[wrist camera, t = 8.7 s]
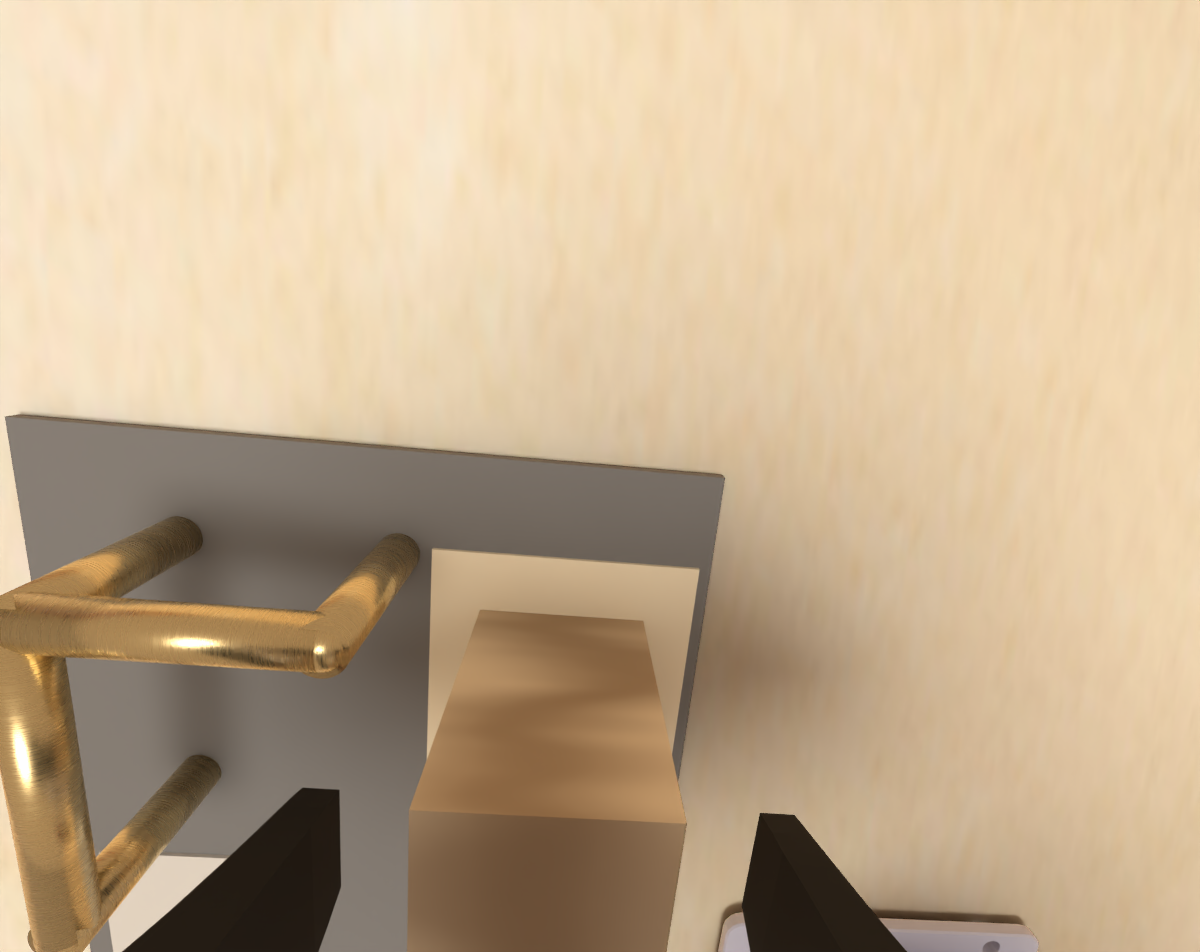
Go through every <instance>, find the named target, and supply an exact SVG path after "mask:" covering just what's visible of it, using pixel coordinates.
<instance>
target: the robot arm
mask: <svg viewBox="0 0 1200 952" xmlns="http://www.w3.org/2000/svg"><path fill="white" fill-rule="evenodd" d="M340 889H341V849H340V790H337V789H319V788H301V789H300V790H299V791H298V792H296V793H295V794H294V795H293V796H292V797H291V798H290V799H289V800H288V801H287V802H286V803H285V804H284V805H283V806H282V807H281V808H280V809H278V810H277V811H276V812H275V813H274V814H273V815H272V816H271V817H270V818H269V819H268V820H267V821H266V822H265V823H264V824H263V825H262V826H261V827H260V828H259V829H258V830H257V831H256V832H255V833H253V834H252V835H251V836H250V837H249V838H248V839H247V840H246V841H245V842H244V843H243V844H242V845H241V846H240V847H239V848H238V849H237V850H236V851H234V852H233V853H232V854H231V855H230V856H229V857H228V858H227V859H226V860H225V861H224V862H223V863H222V864H221V865H219V866H218V867H217V868H216V869H215V870H214V871H213V872H212V873H211V874H210V875H208V876H207V877H206V878H205V879H204V880H203V881H202V882H201V883H200V884H199V885H198V886H196V887H195V888H194V889H193V890H192V891H191V892H190V893H189V894H188V895H187V896H185V897H184V898H183V899H182V900H181V901H180V902H179V903H178V904H177V905H176V906H174V907H173V908H172V909H171V910H170V911H169V912H168V913H167V914H165V915H164V916H163V917H162V918H161V919H160V920H158V921H157V922H156V923H155V924H154V925H153V926H151V927H150V928H149V929H148V930H147V931H146V932H144V933H143V934H142V935H141V936H140V937H139V938H137V939H136V940H135V941H134V942H133V943H131V944H130V945H129V946H128V947H127V948H126V949H124V950H123V951H122V952H319V949H320V946H321V944H322V941H323V938H324V935H325V932H326V930H327V927H328V924H329V921H330V918H331V915H332V912H333V909H334V906H335V903H336V900H337V898H338V895H339V892H340ZM742 909H743V912H739V913H734V914H732V915H730V916H729V917H728V918H727V919H726V920H725V922H724V924H723V928H722V933H721V939H720V944H719V949H718V952H1037V951H1038V945H1039V943H1038V940H1037V938H1036V937H1035V936H1034V934H1033V933H1032V932H1031V930H1030V929H1029V928H1028V927H1026V926H1025V925H1020V924H1008V923H984V922H961V921H937V920H913V919H890V918H878V917H877V916H876V915H875V914H874V912H873V911H872V910H871V909H870V908H869V906H868V905H867V904H866V903H865V902H864V900H863V899H862V898H861V897H860V896H859V894H858V893H857V892H856V891H855V889H854V888H853V887H852V886H851V884H850V883H849V882H848V881H847V880H846V878H845V877H844V876H843V875H842V873H841V872H840V871H839V870H838V868H837V867H836V866H835V865H834V863H833V862H832V861H831V860H830V859H829V857H828V856H827V855H826V854H825V852H824V851H823V850H822V849H821V847H820V846H819V845H818V844H817V842H816V841H815V840H814V839H813V837H812V836H811V835H810V834H809V832H808V831H807V830H806V829H805V827H804V826H803V825H802V824H801V823H800V821H799V820H798V819H797V818H796V816H795V815H786V814H768V813H760V816H759V821H758V826H757V831H756V836H755V841H754V846H753V851H752V857H751V862H750V867H749V872H748V877H747V882H746V887H745V892H744V897H743V902H742Z"/></svg>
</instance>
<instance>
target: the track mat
mask: <svg viewBox="0 0 1200 952" xmlns="http://www.w3.org/2000/svg"><path fill="white" fill-rule="evenodd" d="M5 420H6V426H7V433H8V439H9V445H10V451H11V458H12V464H13V470H14V476H15V482H16V489H17V495H18V501H19V507H20V513H21V520H22V526H23V532H24V538H25V545H26V551H27V557H28V563H29V569H30V576H31V581H33V580H35V579H37V578H40V577H42V576H44V575H46V574H48V573H50V572H53V571H55V570H57V569H59V568H61V567H63V566H65V565H68V564H70V563H72V562H74V561H76V560H78V559H81V558H83V557H85V556H87V555H89V554H91V553H94V552H96V551H98V550H100V549H102V548H104V547H107V546H109V545H111V544H113V543H115V542H117V541H120V540H122V539H124V538H126V537H128V536H130V535H132V534H135V533H137V532H139V531H141V530H143V529H145V528H148V527H150V526H152V525H154V524H156V523H158V522H161V521H163V520H165V519H167V518H170V517H174V516H180V517H185V518H187V519H189V520H191V521H193V522H194V523H195V524H196V525H197V526H198V527H199V529H200V531H201V533H202V537H203V543H202V546H201V548H200V550H199V551H198V552H197V553H196V554H194V555H192V556H190V557H189V558H187V559H185V560H184V561H182V562H180V563H179V564H177V565H175V566H173V567H172V568H170V569H168V570H167V571H165V572H163V573H162V574H160V575H158V576H156V577H155V578H153V579H151V580H150V581H148V582H146V583H145V584H143V585H141V586H139V587H138V588H136V589H134V590H133V591H131V592H129V593H127V594H126V595H124V596H122V597H121V598H133V599H147V600H161V601H176V602H190V603H205V604H219V605H234V606H248V607H263V608H277V609H291V610H306V611H316V610H317V609H318V608H319V606H320V605H321V604H322V603H323V602H324V601H325V600H326V599H327V598H328V597H329V596H330V595H331V594H332V593H333V591H334V590H335V589H336V588H337V587H338V586H339V585H340V584H341V583H342V582H343V581H344V580H345V579H346V578H347V576H348V575H349V574H350V573H351V572H352V571H353V570H354V569H355V568H356V567H357V566H358V565H359V564H360V563H361V561H362V560H363V559H364V558H365V557H366V556H367V555H368V554H369V553H370V552H371V551H372V550H373V549H374V548H375V547H376V545H377V544H378V543H379V542H380V541H381V540H382V539H383V538H384V537H386V536H387V535H390V534H394V533H400V534H405V535H407V536H409V537H411V538H412V539H413V540H414V541H415V542H416V543H417V545H418V547H419V550H420V559H419V562H418V563H417V565H416V566H415V568H414V569H413V571H412V572H411V574H410V575H409V577H408V578H407V580H406V581H405V582H404V584H403V585H402V587H401V588H400V590H399V591H398V593H397V594H396V595H395V597H394V598H393V600H392V601H391V603H390V604H389V606H388V607H387V609H386V610H385V611H384V613H383V614H382V616H381V617H380V619H379V620H378V622H377V623H376V625H375V626H374V627H373V629H372V630H371V632H370V633H369V635H368V636H367V638H366V639H365V640H364V642H363V643H362V645H361V646H360V648H359V649H358V651H357V652H356V654H355V655H354V656H353V658H352V659H351V661H350V662H349V664H348V665H347V667H346V668H345V669H344V670H343V671H342V672H341V673H340V674H338V675H336V676H334V677H331V678H326V679H318V678H313V677H310V676H307V675H305V674H303V673H302V672H289V671H274V670H258V669H242V668H226V667H210V666H195V665H179V664H163V663H147V662H131V661H116V660H100V659H84V658H68V657H66V664H67V670H68V677H69V684H70V690H71V697H72V704H73V710H74V717H75V723H76V730H77V737H78V743H79V750H80V757H81V763H82V770H83V777H84V783H85V790H86V797H87V803H88V810H89V817H90V823H91V830H92V837H93V843H94V850H95V856H96V857H97V856H98V855H99V854H100V853H101V852H102V851H103V849H104V848H105V847H106V846H107V845H108V844H109V843H110V842H111V841H112V840H113V838H114V837H115V836H116V835H117V834H118V833H119V832H120V831H121V830H122V829H123V828H124V826H125V825H126V824H127V823H128V822H129V821H130V820H131V819H132V818H133V817H134V815H135V814H136V813H137V812H138V811H139V810H140V809H141V808H142V807H143V806H144V805H145V803H146V802H147V801H148V800H149V799H150V798H151V797H152V796H153V795H154V794H155V792H156V791H157V790H158V789H159V788H160V787H161V786H162V785H163V784H164V783H165V782H166V780H167V779H168V778H169V777H170V776H171V775H172V774H173V773H174V772H175V771H176V769H177V768H178V767H179V766H180V765H181V764H182V763H183V762H184V761H185V760H186V759H187V758H188V757H190V756H193V755H205V756H208V757H210V758H212V759H213V760H215V761H216V762H217V763H218V765H219V766H220V768H221V778H220V780H219V781H218V782H217V784H216V785H215V786H214V787H213V789H212V790H211V791H210V792H209V794H208V795H207V796H206V797H205V799H204V800H203V801H202V802H201V804H200V805H199V806H198V807H197V809H196V810H195V811H194V813H193V814H192V815H191V816H190V818H189V819H188V820H187V821H186V823H185V824H184V825H183V826H182V828H181V829H180V830H179V831H178V833H177V834H176V835H175V836H174V838H173V839H172V840H171V841H170V843H169V844H168V845H167V846H166V848H165V849H164V850H163V851H162V853H161V854H160V855H159V856H158V858H157V859H156V860H155V861H154V863H153V864H152V865H151V866H150V868H149V869H148V870H147V871H146V873H145V874H144V875H143V876H142V878H141V879H140V880H139V882H138V883H137V884H136V885H135V887H134V888H133V889H132V890H131V892H130V893H129V894H128V895H127V897H126V898H125V899H124V900H123V902H122V903H121V904H120V905H119V907H118V908H117V909H116V910H115V912H114V913H113V914H112V915H111V917H110V918H109V919H108V920H107V922H106V923H105V924H104V925H103V927H102V928H101V929H100V930H99V932H98V933H97V934H96V935H95V937H94V938H93V939H92V940H91V942H90V948H91V952H122V951H123V950H124V949H126V948H127V947H128V946H129V945H130V944H131V943H133V942H134V941H135V940H136V939H137V938H139V937H140V936H141V935H142V934H143V933H144V932H146V931H147V930H148V929H149V928H150V927H151V926H153V925H154V924H155V923H156V922H157V921H158V920H160V919H161V918H162V917H163V916H164V915H165V914H167V913H168V912H169V911H170V910H171V909H172V908H173V907H174V906H176V905H177V904H178V903H179V902H180V901H181V900H182V899H183V898H184V897H185V896H187V895H188V894H189V893H190V892H191V891H192V890H193V889H194V888H195V887H196V886H198V885H199V884H200V883H201V882H202V881H203V880H204V879H205V878H206V877H207V876H208V875H210V874H211V873H212V872H213V871H214V870H215V869H216V868H217V867H218V866H219V865H221V864H222V863H223V862H224V861H225V860H226V859H227V858H228V857H229V856H230V855H231V854H232V853H233V852H234V851H236V850H237V849H238V848H239V847H240V846H241V845H242V844H243V843H244V842H245V841H246V840H247V839H248V838H249V837H250V836H251V835H252V834H253V833H255V832H256V831H257V830H258V829H259V828H260V827H261V826H262V825H263V824H264V823H265V822H266V821H267V820H268V819H269V818H270V817H271V816H272V815H273V814H274V813H275V812H276V811H277V810H278V809H280V808H281V807H282V806H283V805H284V804H285V803H286V802H287V801H288V800H289V799H290V798H291V797H292V796H293V795H294V794H295V793H296V792H298V791H299V790H300V789H301V788H319V789H337V790H340V849H341V889H340V892H339V895H338V898H337V900H336V903H335V906H334V909H333V912H332V915H331V918H330V921H329V924H328V927H327V930H326V932H325V935H324V938H323V941H322V944H321V946H320V949H319V952H407V921H408V844H409V809H410V806H411V803H412V800H413V797H414V795H415V792H416V789H417V786H418V783H419V780H420V778H421V775H422V772H423V769H424V766H425V763H426V761H427V758H428V755H429V752H430V749H431V747H432V744H433V741H434V738H435V735H436V732H437V730H438V727H439V724H440V721H441V718H442V716H443V713H444V710H445V707H446V704H447V701H448V699H449V696H450V693H451V690H452V687H453V685H454V682H455V679H456V676H457V673H458V670H459V668H460V665H461V662H462V659H463V656H464V654H465V651H466V648H467V645H468V642H469V639H470V637H471V634H472V631H473V628H474V625H475V623H476V620H477V617H478V614H479V611H480V610H493V611H507V612H522V613H537V614H552V615H566V616H581V617H596V618H610V619H625V620H640V621H643V622H644V627H645V632H646V636H647V641H648V646H649V650H650V655H651V660H652V664H653V669H654V674H655V678H656V683H657V687H658V692H659V697H660V701H661V706H662V711H663V715H664V720H665V725H666V729H667V734H668V739H669V743H670V748H671V753H672V757H673V762H674V767H675V771H676V776H677V781H678V779H679V772H680V766H681V759H682V753H683V746H684V740H685V733H686V727H687V721H688V714H689V708H690V701H691V695H692V688H693V682H694V675H695V669H696V662H697V656H698V649H699V643H700V636H701V630H702V623H703V617H704V610H705V604H706V597H707V591H708V584H709V578H710V571H711V565H712V558H713V552H714V545H715V539H716V533H717V526H718V520H719V513H720V507H721V500H722V494H723V487H724V481H725V478H724V477H723V476H722V475H717V474H706V473H694V472H682V471H670V470H659V469H647V468H635V467H624V466H612V465H600V464H589V463H577V462H565V461H553V460H542V459H530V458H518V457H507V456H495V455H483V454H472V453H460V452H448V451H436V450H425V449H413V448H401V447H390V446H378V445H366V444H355V443H343V442H331V441H320V440H308V439H296V438H284V437H273V436H261V435H249V434H238V433H226V432H214V431H203V430H191V429H179V428H167V427H156V426H144V425H132V424H121V423H109V422H97V421H86V420H74V419H62V418H50V417H39V416H27V415H13V416H6V417H5Z"/></svg>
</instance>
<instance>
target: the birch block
mask: <svg viewBox="0 0 1200 952" xmlns="http://www.w3.org/2000/svg"><path fill="white" fill-rule="evenodd" d="M686 825H687V823H686V818H685V813H684V809H683V804H682V799H681V795H680V790H679V785H678V781H677V776H676V771H675V767H674V762H673V757H672V753H671V748H670V743H669V739H668V734H667V729H666V725H665V720H664V715H663V711H662V706H661V701H660V697H659V692H658V687H657V683H656V678H655V674H654V669H653V664H652V660H651V655H650V650H649V646H648V641H647V636H646V632H645V627H644V622H643V621H640V620H625V619H610V618H596V617H581V616H566V615H552V614H537V613H522V612H507V611H493V610H480V611H479V614H478V617H477V620H476V623H475V625H474V628H473V631H472V634H471V637H470V639H469V642H468V645H467V648H466V651H465V654H464V656H463V659H462V662H461V665H460V668H459V670H458V673H457V676H456V679H455V682H454V685H453V687H452V690H451V693H450V696H449V699H448V701H447V704H446V707H445V710H444V713H443V716H442V718H441V721H440V724H439V727H438V730H437V732H436V735H435V738H434V741H433V744H432V747H431V749H430V752H429V755H428V758H427V761H426V763H425V766H424V769H423V772H422V775H421V778H420V780H419V783H418V786H417V789H416V792H415V795H414V797H413V800H412V803H411V806H410V809H409V844H408V921H407V952H666V951H667V945H668V938H669V932H670V926H671V920H672V913H673V907H674V901H675V894H676V888H677V882H678V875H679V869H680V863H681V857H682V850H683V844H684V838H685V831H686Z"/></svg>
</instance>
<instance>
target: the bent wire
mask: <svg viewBox="0 0 1200 952" xmlns="http://www.w3.org/2000/svg"><path fill="white" fill-rule="evenodd" d="M202 543H203V537H202V533H201V531H200V529H199V527H198V526H197V525H196V524H195V523H194V522H193V521H191V520H189V519H187V518H185V517H180V516H174V517H170V518H167V519H165V520H163V521H161V522H158V523H156V524H154V525H152V526H150V527H148V528H145V529H143V530H141V531H139V532H137V533H135V534H132V535H130V536H128V537H126V538H124V539H122V540H120V541H117V542H115V543H113V544H111V545H109V546H107V547H104V548H102V549H100V550H98V551H96V552H94V553H91V554H89V555H87V556H85V557H83V558H81V559H78V560H76V561H74V562H72V563H70V564H68V565H65V566H63V567H61V568H59V569H57V570H55V571H53V572H50V573H48V574H46V575H44V576H42V577H40V578H37V579H35V580H33V581H31V582H29V583H27V584H24V585H22V586H20V587H18V588H16V589H14V590H11V591H9V592H7V593H5V594H3V595H1V596H0V773H1V778H2V783H3V789H4V794H5V799H6V804H7V809H8V814H9V820H10V825H11V830H12V835H13V840H14V846H15V851H16V856H17V861H18V866H19V872H20V877H21V882H22V887H23V892H24V898H25V903H26V908H27V913H28V918H29V924H30V929H31V930H30V931H29V933H28V943H29V945H30V947H31V949H32V950H33V951H34V952H83V951H84V949H85V948H86V947H87V945H88V944H89V943H90V942H91V940H92V939H93V938H94V937H95V935H96V934H97V933H98V932H99V930H100V929H101V928H102V927H103V925H104V924H105V923H106V922H107V920H108V919H109V918H110V917H111V915H112V914H113V913H114V912H115V910H116V909H117V908H118V907H119V905H120V904H121V903H122V902H123V900H124V899H125V898H126V897H127V895H128V894H129V893H130V892H131V890H132V889H133V888H134V887H135V885H136V884H137V883H138V882H139V880H140V879H141V878H142V876H143V875H144V874H145V873H146V871H147V870H148V869H149V868H150V866H151V865H152V864H153V863H154V861H155V860H156V859H157V858H158V856H159V855H160V854H161V853H162V851H163V850H164V849H165V848H166V846H167V845H168V844H169V843H170V841H171V840H172V839H173V838H174V836H175V835H176V834H177V833H178V831H179V830H180V829H181V828H182V826H183V825H184V824H185V823H186V821H187V820H188V819H189V818H190V816H191V815H192V814H193V813H194V811H195V810H196V809H197V807H198V806H199V805H200V804H201V802H202V801H203V800H204V799H205V797H206V796H207V795H208V794H209V792H210V791H211V790H212V789H213V787H214V786H215V785H216V784H217V782H218V781H219V780H220V778H221V768H220V766H219V765H218V763H217V762H216V761H215V760H213V759H212V758H210V757H208V756H205V755H193V756H190V757H188V758H187V759H186V760H185V761H184V762H183V763H182V764H181V765H180V766H179V767H178V768H177V769H176V771H175V772H174V773H173V774H172V775H171V776H170V777H169V778H168V779H167V780H166V782H165V783H164V784H163V785H162V786H161V787H160V788H159V789H158V790H157V791H156V792H155V794H154V795H153V796H152V797H151V798H150V799H149V800H148V801H147V802H146V803H145V805H144V806H143V807H142V808H141V809H140V810H139V811H138V812H137V813H136V814H135V815H134V817H133V818H132V819H131V820H130V821H129V822H128V823H127V824H126V825H125V826H124V828H123V829H122V830H121V831H120V832H119V833H118V834H117V835H116V836H115V837H114V838H113V840H112V841H111V842H110V843H109V844H108V845H107V846H106V847H105V848H104V849H103V851H102V852H101V853H100V854H99V855H98V856H97V857H96V856H95V850H94V843H93V837H92V830H91V823H90V817H89V810H88V803H87V797H86V790H85V783H84V777H83V770H82V763H81V757H80V750H79V743H78V737H77V730H76V723H75V717H74V710H73V704H72V697H71V690H70V684H69V677H68V670H67V664H66V657H68V658H84V659H100V660H116V661H131V662H147V663H163V664H179V665H195V666H210V667H226V668H242V669H258V670H274V671H289V672H302V673H303V674H305V675H307V676H310V677H313V678H318V679H326V678H331V677H334V676H336V675H338V674H340V673H341V672H342V671H343V670H344V669H345V668H346V667H347V665H348V664H349V662H350V661H351V659H352V658H353V656H354V655H355V654H356V652H357V651H358V649H359V648H360V646H361V645H362V643H363V642H364V640H365V639H366V638H367V636H368V635H369V633H370V632H371V630H372V629H373V627H374V626H375V625H376V623H377V622H378V620H379V619H380V617H381V616H382V614H383V613H384V611H385V610H386V609H387V607H388V606H389V604H390V603H391V601H392V600H393V598H394V597H395V595H396V594H397V593H398V591H399V590H400V588H401V587H402V585H403V584H404V582H405V581H406V580H407V578H408V577H409V575H410V574H411V572H412V571H413V569H414V568H415V566H416V565H417V563H418V562H419V559H420V550H419V547H418V545H417V543H416V542H415V541H414V540H413V539H412V538H411V537H409V536H407V535H405V534H400V533H394V534H390V535H387V536H386V537H384V538H383V539H382V540H381V541H380V542H379V543H378V544H377V545H376V547H375V548H374V549H373V550H372V551H371V552H370V553H369V554H368V555H367V556H366V557H365V558H364V559H363V560H362V561H361V563H360V564H359V565H358V566H357V567H356V568H355V569H354V570H353V571H352V572H351V573H350V574H349V575H348V576H347V578H346V579H345V580H344V581H343V582H342V583H341V584H340V585H339V586H338V587H337V588H336V589H335V590H334V591H333V593H332V594H331V595H330V596H329V597H328V598H327V599H326V600H325V601H324V602H323V603H322V604H321V605H320V606H319V608H318V609H317V610H316V611H306V610H291V609H277V608H263V607H248V606H234V605H219V604H205V603H190V602H176V601H161V600H147V599H133V598H121V597H122V596H124V595H126V594H127V593H129V592H131V591H133V590H134V589H136V588H138V587H139V586H141V585H143V584H145V583H146V582H148V581H150V580H151V579H153V578H155V577H156V576H158V575H160V574H162V573H163V572H165V571H167V570H168V569H170V568H172V567H173V566H175V565H177V564H179V563H180V562H182V561H184V560H185V559H187V558H189V557H190V556H192V555H194V554H196V553H197V552H198V551H199V550H200V548H201V546H202Z"/></svg>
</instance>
